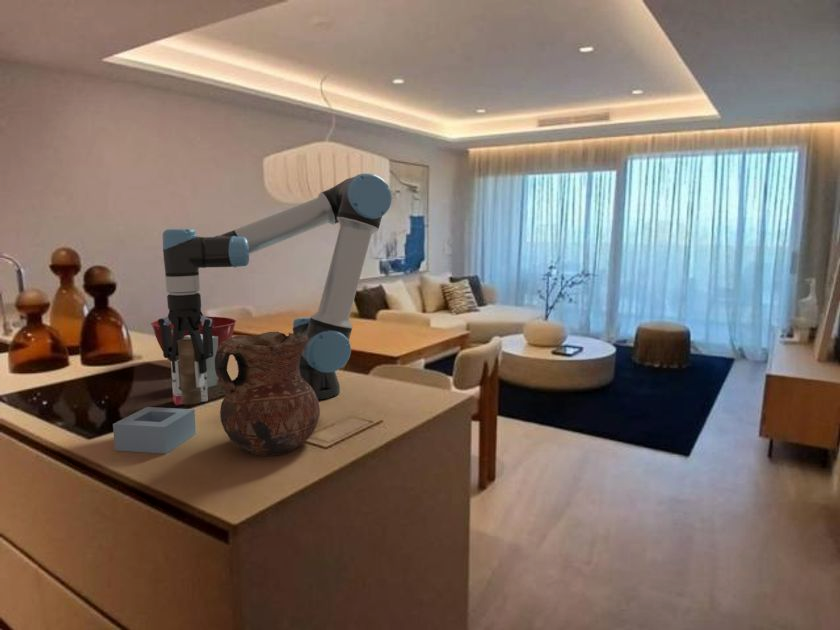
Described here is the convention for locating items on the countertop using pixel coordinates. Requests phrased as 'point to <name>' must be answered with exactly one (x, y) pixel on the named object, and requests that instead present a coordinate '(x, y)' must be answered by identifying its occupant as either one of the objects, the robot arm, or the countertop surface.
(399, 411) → the countertop surface
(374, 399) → the countertop surface
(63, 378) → the countertop surface
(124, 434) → the socket
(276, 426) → the jug
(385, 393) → the countertop surface
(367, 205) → the robot arm
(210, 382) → the skincare box
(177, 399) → the ink box
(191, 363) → the peg
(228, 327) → the mixing bowl
